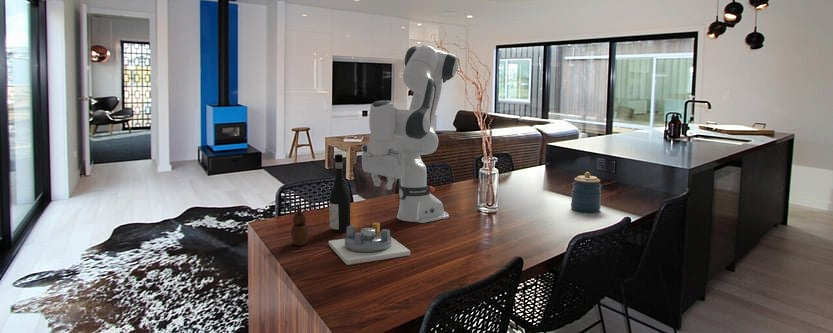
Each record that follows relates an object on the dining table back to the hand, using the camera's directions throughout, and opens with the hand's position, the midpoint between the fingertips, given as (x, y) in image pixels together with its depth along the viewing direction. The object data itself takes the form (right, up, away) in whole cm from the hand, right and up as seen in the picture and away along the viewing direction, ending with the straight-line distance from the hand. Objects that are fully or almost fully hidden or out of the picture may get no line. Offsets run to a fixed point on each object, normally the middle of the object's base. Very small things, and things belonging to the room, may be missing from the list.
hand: (382, 187), depth 172 cm
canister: (+90, -13, +56) cm, 106 cm away
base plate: (-5, -22, -1) cm, 22 cm away
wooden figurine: (-30, -21, +5) cm, 37 cm away
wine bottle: (-18, -18, +23) cm, 34 cm away
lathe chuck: (-5, -20, -1) cm, 20 cm away
